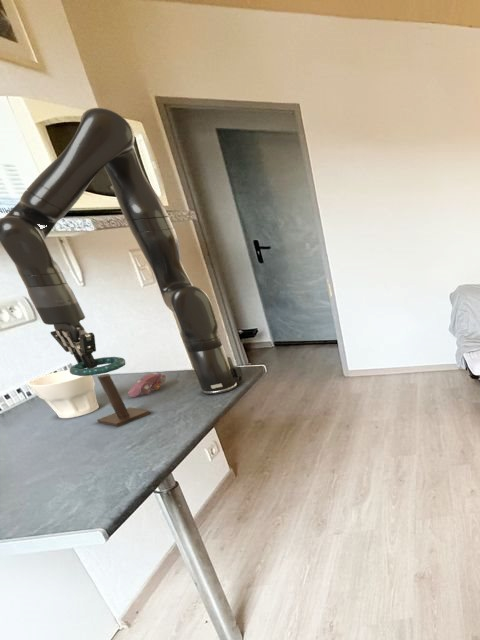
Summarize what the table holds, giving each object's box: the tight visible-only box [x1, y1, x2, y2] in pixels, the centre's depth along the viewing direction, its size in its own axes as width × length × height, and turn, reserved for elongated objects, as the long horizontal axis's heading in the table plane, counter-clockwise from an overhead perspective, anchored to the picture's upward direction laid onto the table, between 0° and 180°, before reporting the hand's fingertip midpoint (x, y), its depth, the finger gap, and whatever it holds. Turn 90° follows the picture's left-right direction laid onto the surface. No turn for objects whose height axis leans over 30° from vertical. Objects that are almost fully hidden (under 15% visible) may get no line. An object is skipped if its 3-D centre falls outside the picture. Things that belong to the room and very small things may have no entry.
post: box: [96, 373, 151, 428], centre depth 114 cm, size 8×8×13 cm
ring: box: [69, 356, 126, 376], centre depth 110 cm, size 11×11×2 cm
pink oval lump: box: [128, 372, 167, 398], centre depth 132 cm, size 10×5×7 cm, turn 179°
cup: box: [27, 369, 100, 419], centre depth 118 cm, size 12×12×11 cm
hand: (89, 367), depth 111 cm, fingers closed on ring, 2 cm apart
